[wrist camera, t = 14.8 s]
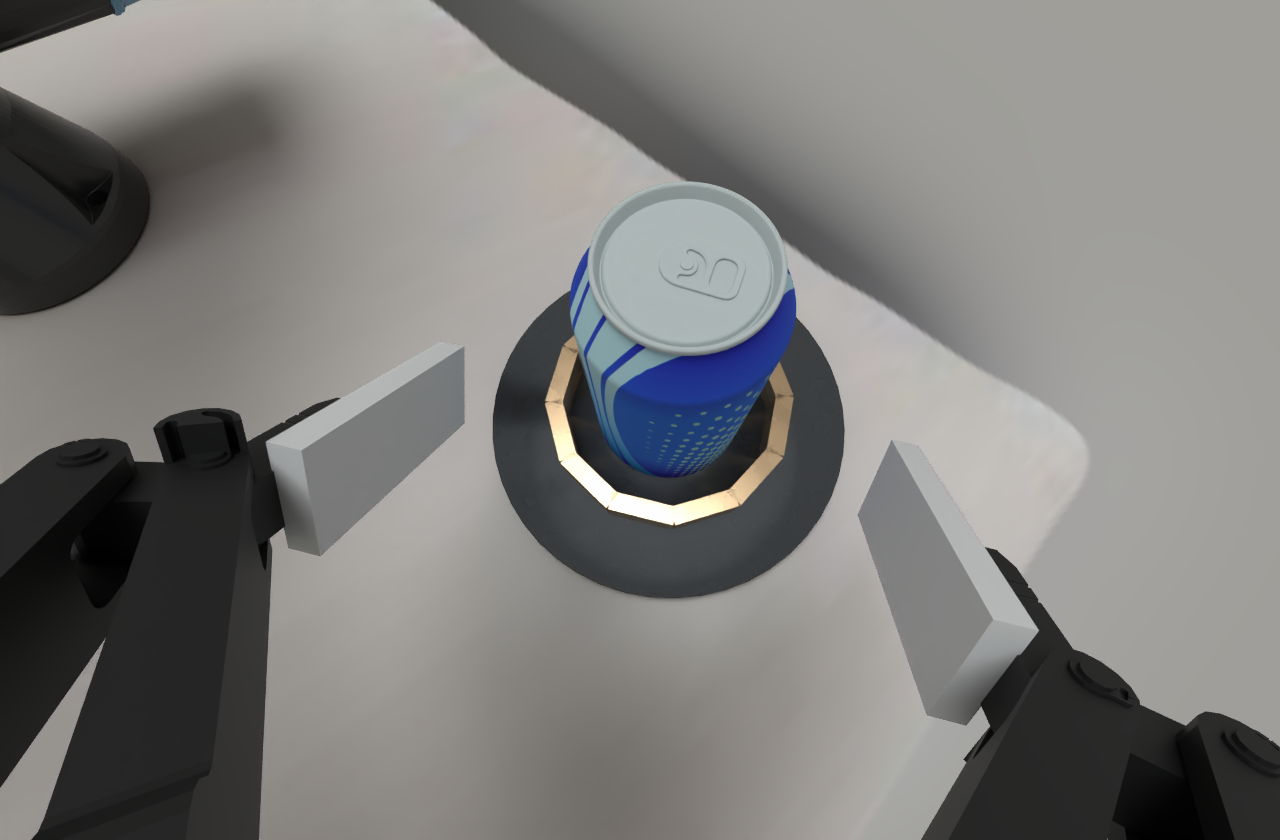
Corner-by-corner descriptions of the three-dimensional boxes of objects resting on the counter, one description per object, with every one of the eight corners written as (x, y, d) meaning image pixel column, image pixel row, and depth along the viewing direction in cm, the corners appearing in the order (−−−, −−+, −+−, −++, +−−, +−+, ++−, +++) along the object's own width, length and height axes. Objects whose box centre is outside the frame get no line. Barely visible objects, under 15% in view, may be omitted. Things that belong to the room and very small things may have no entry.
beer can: (645, 508, 30) (646, 430, 15) (575, 395, 32) (514, 227, 17) (761, 436, 31) (870, 296, 16) (686, 333, 34) (720, 124, 18)
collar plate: (427, 423, 33) (402, 405, 30) (659, 218, 38) (660, 183, 34) (677, 685, 28) (681, 698, 25) (907, 412, 33) (937, 392, 29)
